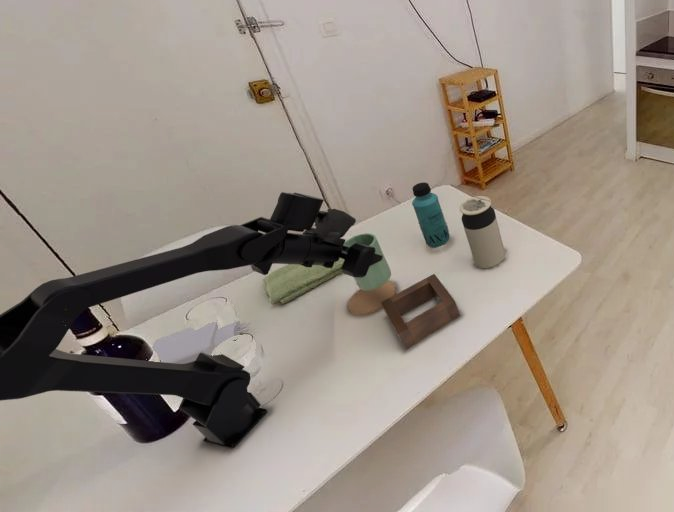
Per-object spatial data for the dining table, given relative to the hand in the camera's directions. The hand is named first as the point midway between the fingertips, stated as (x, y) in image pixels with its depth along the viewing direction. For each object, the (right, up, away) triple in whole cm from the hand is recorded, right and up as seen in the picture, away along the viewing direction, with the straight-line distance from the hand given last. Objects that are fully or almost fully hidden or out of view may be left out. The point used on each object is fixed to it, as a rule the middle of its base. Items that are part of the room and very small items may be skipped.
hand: (370, 254), depth 93 cm
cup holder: (+12, -15, +1) cm, 19 cm away
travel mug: (+21, -5, +17) cm, 28 cm away
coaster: (-3, -12, +6) cm, 14 cm away
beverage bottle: (+5, -3, +22) cm, 23 cm away
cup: (0, -6, +2) cm, 7 cm away
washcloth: (-24, -9, +13) cm, 29 cm away
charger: (-31, -20, -5) cm, 37 cm away
